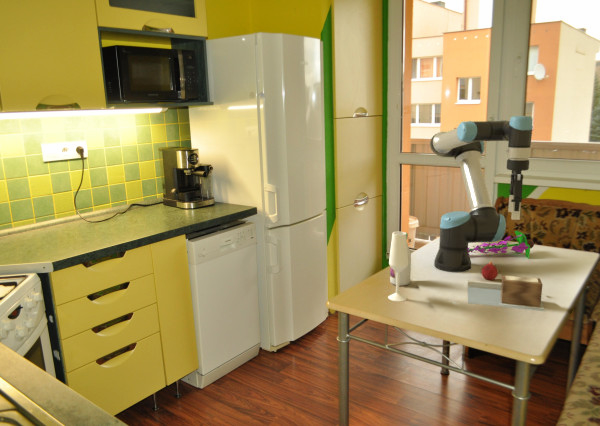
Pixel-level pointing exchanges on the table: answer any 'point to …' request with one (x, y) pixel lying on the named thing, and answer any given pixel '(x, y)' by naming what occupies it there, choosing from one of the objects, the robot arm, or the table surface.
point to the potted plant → (518, 248)
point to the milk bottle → (405, 273)
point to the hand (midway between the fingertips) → (513, 215)
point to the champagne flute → (398, 260)
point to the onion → (489, 271)
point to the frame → (521, 291)
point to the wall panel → (491, 295)
